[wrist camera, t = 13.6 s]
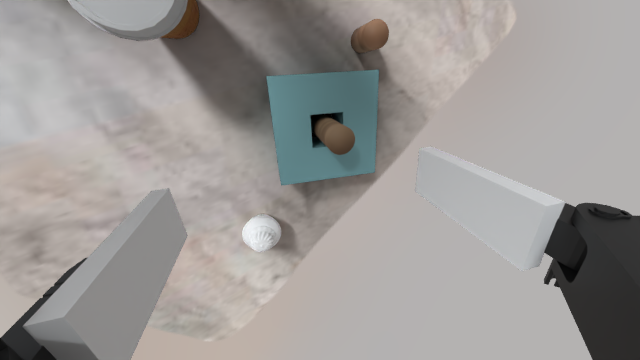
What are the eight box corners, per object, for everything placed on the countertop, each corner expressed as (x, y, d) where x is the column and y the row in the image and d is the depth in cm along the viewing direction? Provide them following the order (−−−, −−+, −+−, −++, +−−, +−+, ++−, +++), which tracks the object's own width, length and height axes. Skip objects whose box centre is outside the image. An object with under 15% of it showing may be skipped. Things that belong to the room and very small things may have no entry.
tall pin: (307, 113, 36) (326, 127, 25) (328, 111, 36) (354, 124, 26) (309, 134, 37) (328, 156, 26) (329, 132, 38) (355, 152, 27)
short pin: (350, 27, 33) (364, 19, 28) (372, 27, 33) (389, 18, 29) (350, 53, 34) (364, 49, 29) (371, 52, 34) (387, 48, 30)
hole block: (266, 76, 33) (266, 76, 27) (361, 71, 35) (378, 69, 30) (278, 170, 38) (281, 185, 33) (360, 160, 41) (374, 172, 35)
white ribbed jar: (285, 227, 43) (289, 253, 36) (254, 241, 42) (252, 269, 36) (270, 200, 40) (271, 222, 34) (237, 215, 40) (232, 240, 33)
